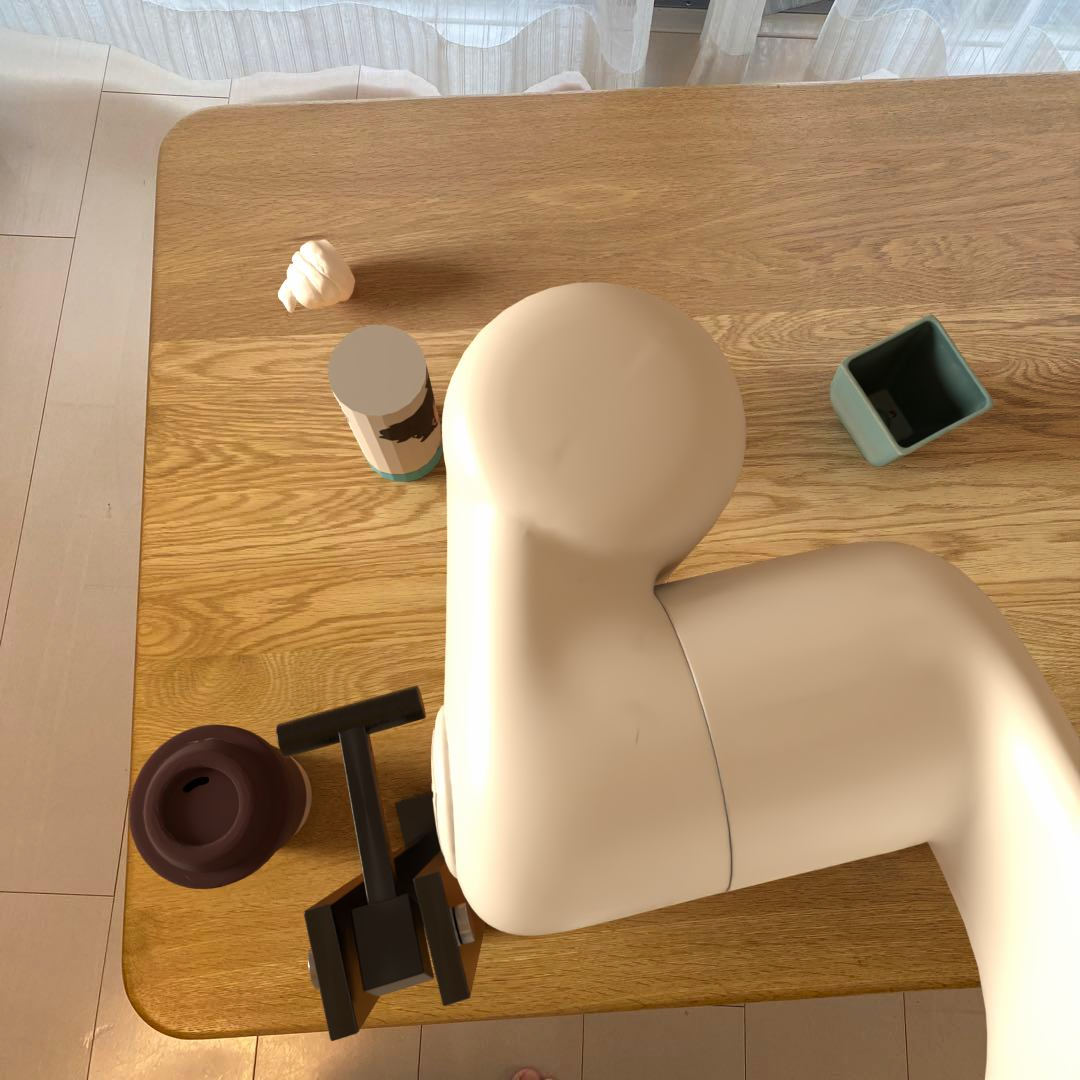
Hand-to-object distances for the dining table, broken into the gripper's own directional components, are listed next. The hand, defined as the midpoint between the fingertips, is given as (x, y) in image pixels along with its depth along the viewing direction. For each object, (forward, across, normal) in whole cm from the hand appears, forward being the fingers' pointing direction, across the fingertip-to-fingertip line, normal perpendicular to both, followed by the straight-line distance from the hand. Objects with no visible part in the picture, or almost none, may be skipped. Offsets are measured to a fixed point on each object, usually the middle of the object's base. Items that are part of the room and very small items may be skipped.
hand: (551, 604), depth 50 cm
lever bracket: (+25, +12, -12) cm, 30 cm away
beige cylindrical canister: (+26, -21, -4) cm, 33 cm away
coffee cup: (+25, +2, -24) cm, 35 cm away
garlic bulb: (+26, -36, -6) cm, 45 cm away
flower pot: (+25, -7, +34) cm, 43 cm away
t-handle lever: (-10, +8, -11) cm, 17 cm away
